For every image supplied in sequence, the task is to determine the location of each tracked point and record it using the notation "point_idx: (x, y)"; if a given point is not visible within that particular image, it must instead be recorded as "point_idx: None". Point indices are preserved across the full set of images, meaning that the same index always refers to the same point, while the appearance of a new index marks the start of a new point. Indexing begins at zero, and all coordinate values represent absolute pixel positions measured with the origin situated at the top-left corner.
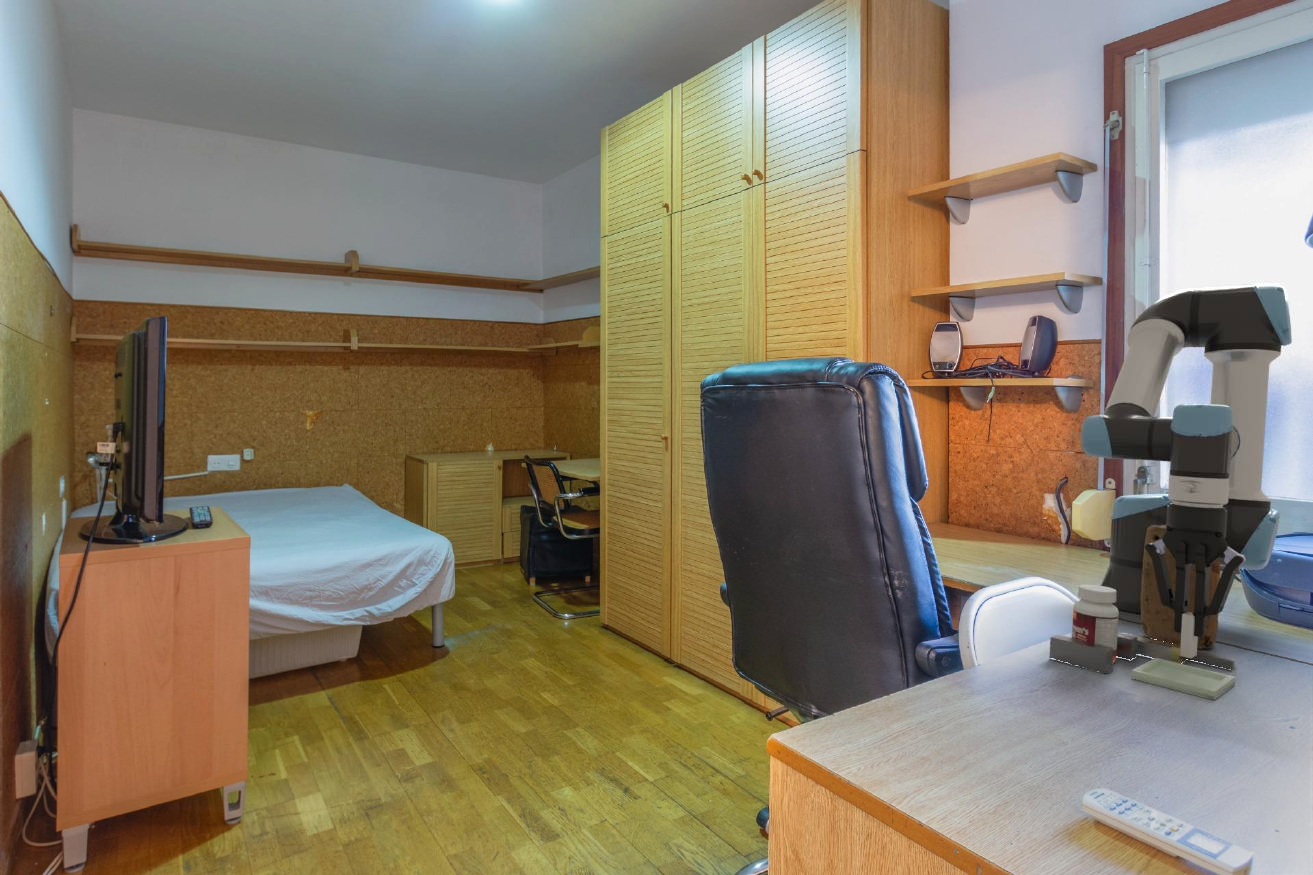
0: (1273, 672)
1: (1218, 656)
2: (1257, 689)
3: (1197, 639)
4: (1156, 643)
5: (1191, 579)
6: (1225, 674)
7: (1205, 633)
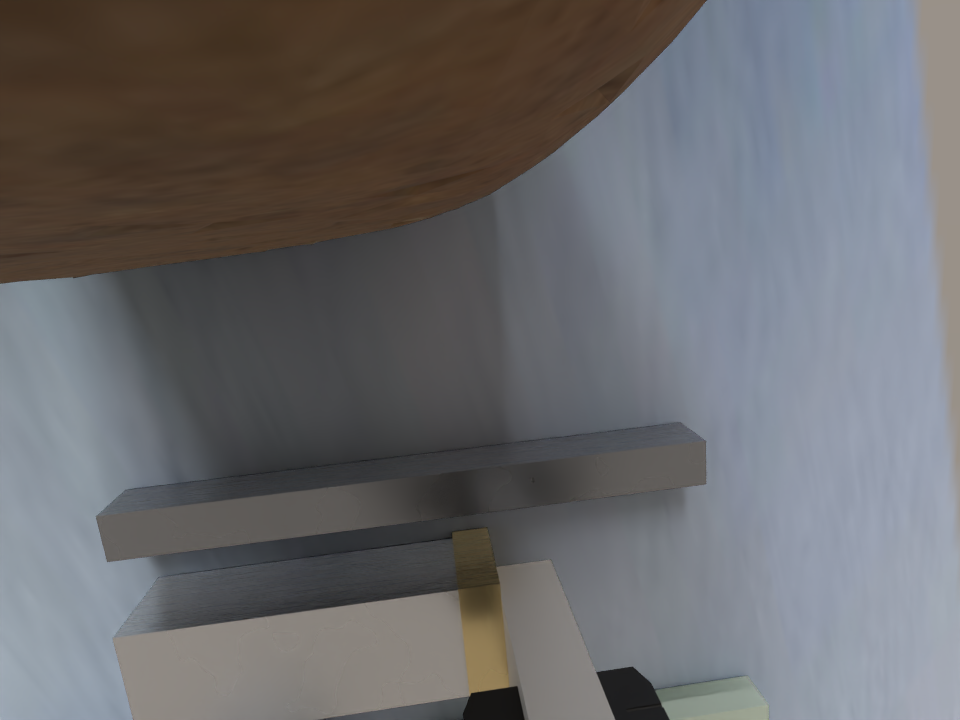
0: (819, 274)
1: (629, 458)
2: (821, 643)
3: (574, 621)
4: (372, 687)
5: (239, 221)
6: (730, 709)
7: (647, 681)
